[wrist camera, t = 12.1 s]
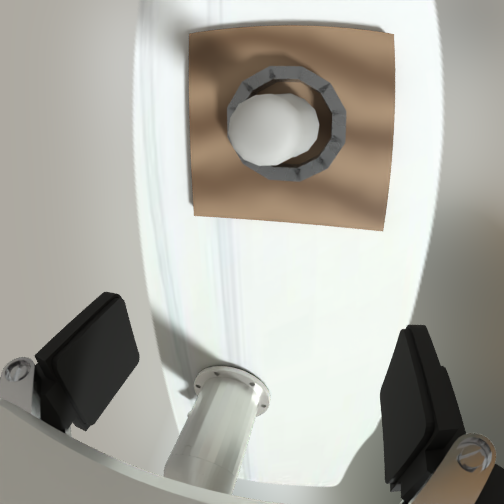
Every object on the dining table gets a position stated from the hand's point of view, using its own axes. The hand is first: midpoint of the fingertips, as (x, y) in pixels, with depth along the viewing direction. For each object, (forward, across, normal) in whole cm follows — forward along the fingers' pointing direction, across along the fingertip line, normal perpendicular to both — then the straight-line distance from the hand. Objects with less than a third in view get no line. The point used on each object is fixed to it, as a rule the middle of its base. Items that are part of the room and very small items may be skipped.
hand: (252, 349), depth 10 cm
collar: (+22, +1, -7) cm, 23 cm away
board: (+24, +1, -7) cm, 25 cm away
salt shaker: (+22, +1, -7) cm, 24 cm away
